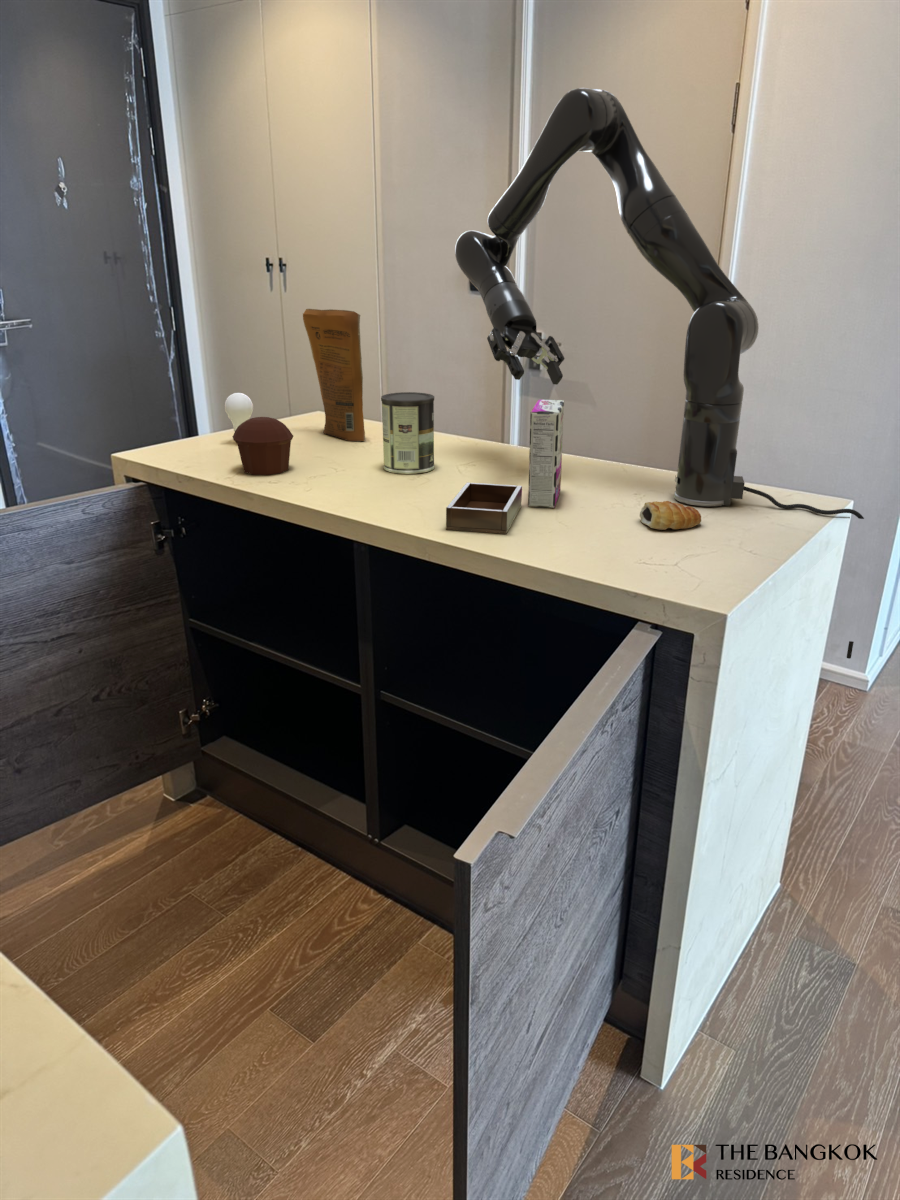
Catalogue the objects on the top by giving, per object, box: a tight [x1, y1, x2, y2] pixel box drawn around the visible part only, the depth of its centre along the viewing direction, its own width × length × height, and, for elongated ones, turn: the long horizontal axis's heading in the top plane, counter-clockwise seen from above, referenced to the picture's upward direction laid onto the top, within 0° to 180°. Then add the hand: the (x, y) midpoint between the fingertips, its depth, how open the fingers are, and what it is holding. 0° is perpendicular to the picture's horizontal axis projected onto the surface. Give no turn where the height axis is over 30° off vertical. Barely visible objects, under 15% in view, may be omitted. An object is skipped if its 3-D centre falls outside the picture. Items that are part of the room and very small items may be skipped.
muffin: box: [232, 416, 294, 476], centre depth 168 cm, size 12×11×10 cm
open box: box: [445, 481, 523, 535], centre depth 140 cm, size 10×16×4 cm, turn 167°
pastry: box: [639, 500, 702, 531], centre depth 137 cm, size 9×7×4 cm
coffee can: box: [380, 391, 435, 475], centre depth 169 cm, size 10×10×14 cm
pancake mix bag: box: [302, 308, 366, 442], centre depth 193 cm, size 7×19×28 cm, turn 40°
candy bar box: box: [527, 398, 565, 509], centre depth 148 cm, size 11×5×16 cm, turn 168°
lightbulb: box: [224, 392, 254, 432], centre depth 190 cm, size 6×6×11 cm
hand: (539, 378), depth 153 cm, fingers open, 8 cm apart
